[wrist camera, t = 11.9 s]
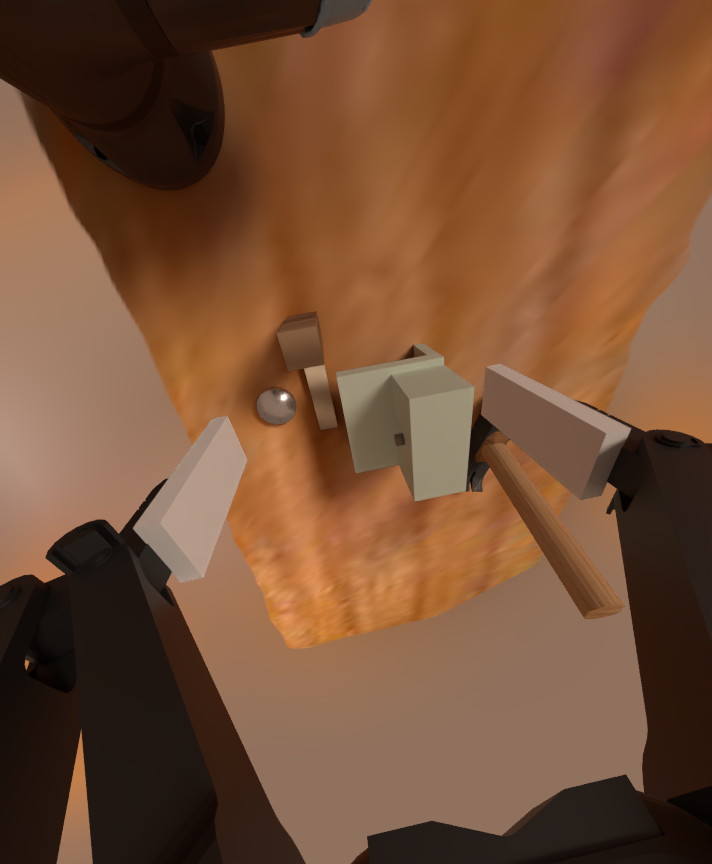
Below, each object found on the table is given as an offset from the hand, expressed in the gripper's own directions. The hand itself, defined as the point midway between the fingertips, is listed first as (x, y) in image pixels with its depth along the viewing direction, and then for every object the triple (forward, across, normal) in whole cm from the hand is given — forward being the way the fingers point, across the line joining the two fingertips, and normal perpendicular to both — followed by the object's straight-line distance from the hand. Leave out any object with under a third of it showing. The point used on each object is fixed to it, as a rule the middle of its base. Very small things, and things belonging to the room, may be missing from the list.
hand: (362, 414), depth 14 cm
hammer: (+29, +24, -25) cm, 45 cm away
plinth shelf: (+29, +6, -13) cm, 32 cm away
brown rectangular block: (+29, -4, -7) cm, 30 cm away
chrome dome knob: (+29, -11, -10) cm, 33 cm away
